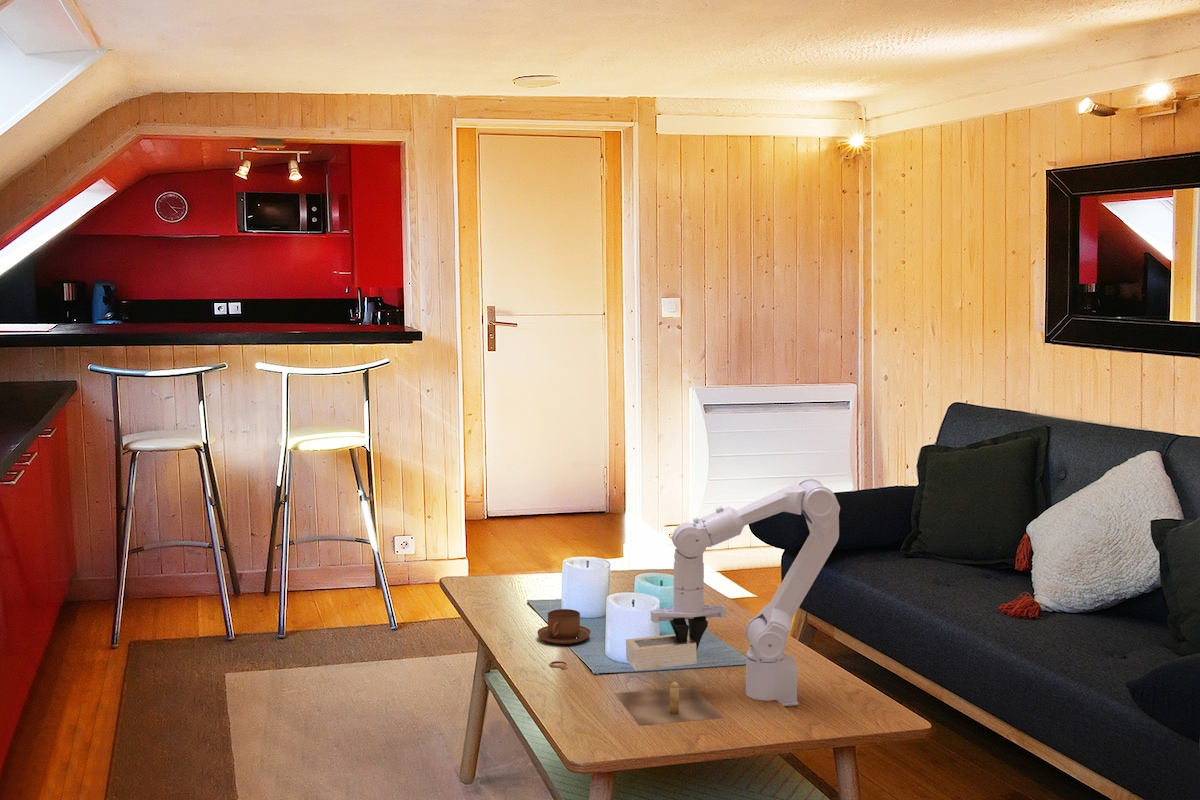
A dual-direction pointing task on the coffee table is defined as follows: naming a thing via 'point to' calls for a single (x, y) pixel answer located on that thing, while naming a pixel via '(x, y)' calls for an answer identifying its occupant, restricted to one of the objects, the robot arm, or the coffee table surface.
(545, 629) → the cup and saucer
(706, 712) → the board
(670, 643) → the cream hollow block
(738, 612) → the coffee table surface
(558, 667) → the key
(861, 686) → the coffee table surface
